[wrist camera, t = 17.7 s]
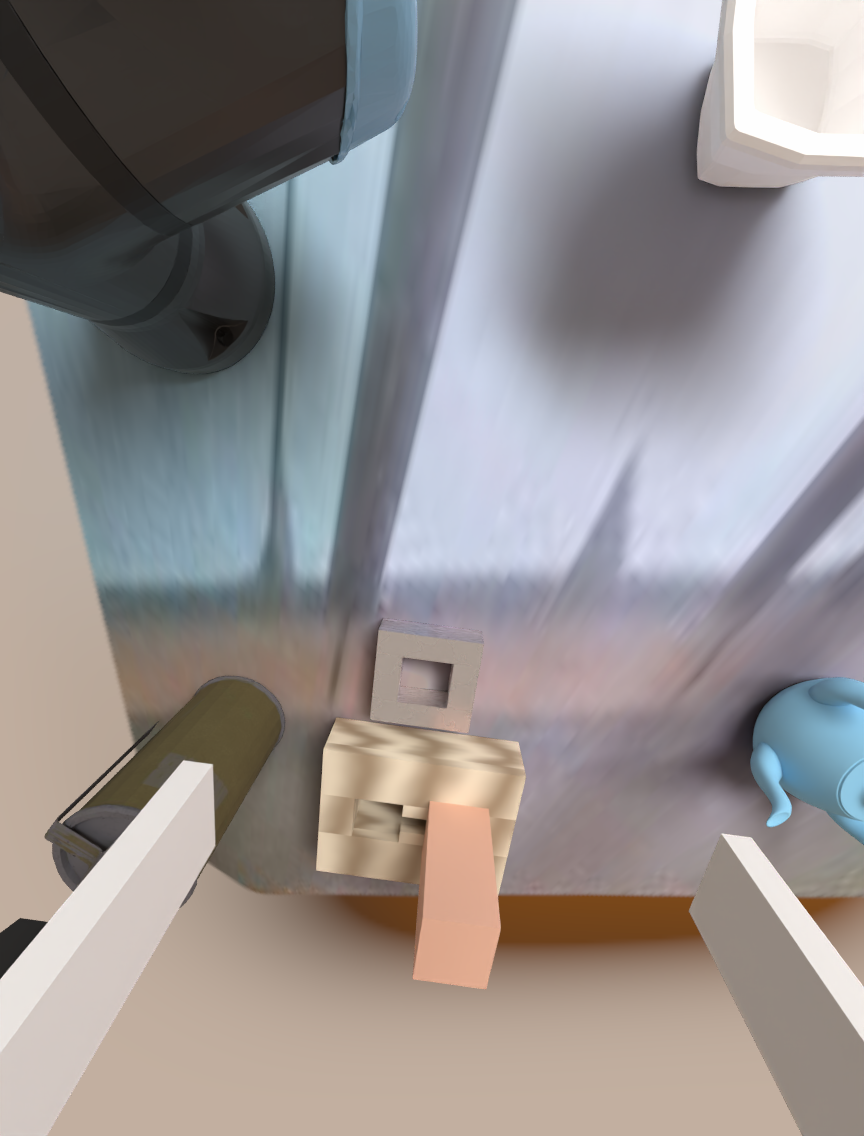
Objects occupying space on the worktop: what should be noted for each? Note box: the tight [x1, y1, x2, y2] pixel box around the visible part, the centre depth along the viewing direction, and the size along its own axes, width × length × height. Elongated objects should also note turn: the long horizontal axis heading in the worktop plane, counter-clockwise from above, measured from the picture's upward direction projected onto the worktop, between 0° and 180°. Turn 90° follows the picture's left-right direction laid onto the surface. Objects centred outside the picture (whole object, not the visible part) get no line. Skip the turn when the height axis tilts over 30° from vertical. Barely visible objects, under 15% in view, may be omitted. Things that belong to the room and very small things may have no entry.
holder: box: [370, 618, 484, 733], centre depth 43 cm, size 10×10×3 cm
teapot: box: [750, 677, 864, 845], centre depth 39 cm, size 15×15×10 cm
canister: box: [45, 676, 285, 907], centre depth 37 cm, size 11×10×20 cm
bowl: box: [697, 0, 864, 188], centre depth 24 cm, size 19×19×14 cm
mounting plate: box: [316, 718, 526, 895], centre depth 46 cm, size 20×16×5 cm
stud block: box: [413, 801, 501, 989], centre depth 40 cm, size 6×7×14 cm
